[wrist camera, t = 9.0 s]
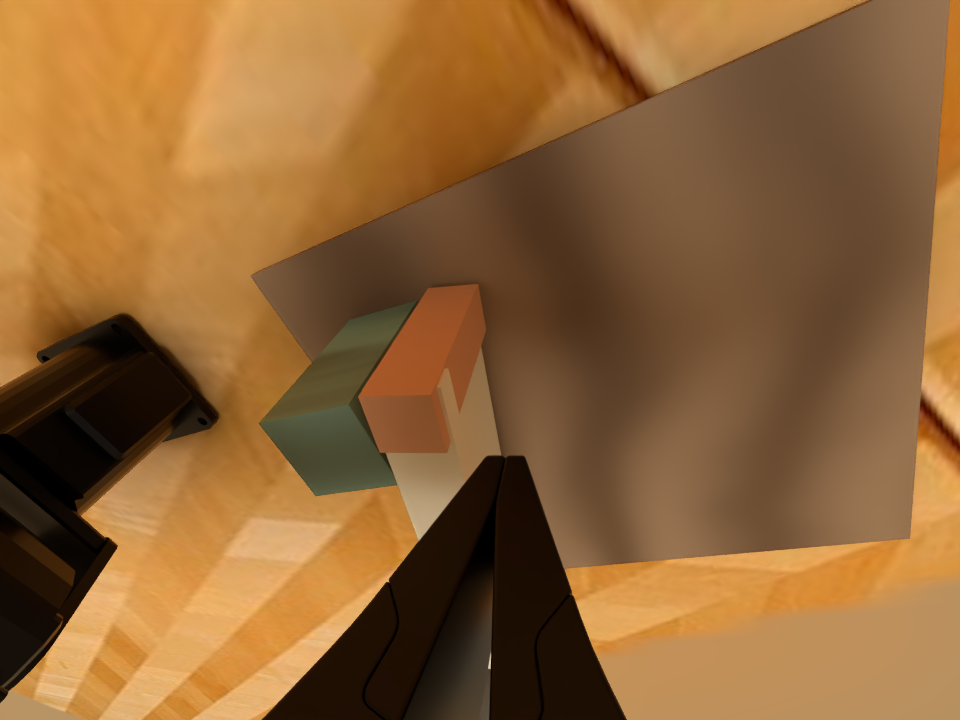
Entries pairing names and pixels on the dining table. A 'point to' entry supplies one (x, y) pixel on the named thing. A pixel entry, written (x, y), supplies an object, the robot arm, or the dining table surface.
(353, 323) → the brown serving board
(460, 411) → the orange and cream block
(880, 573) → the dining table surface
